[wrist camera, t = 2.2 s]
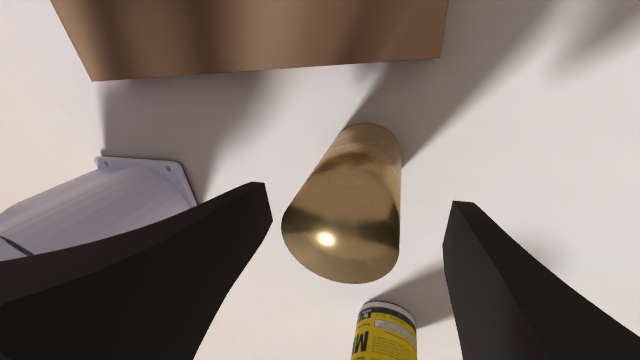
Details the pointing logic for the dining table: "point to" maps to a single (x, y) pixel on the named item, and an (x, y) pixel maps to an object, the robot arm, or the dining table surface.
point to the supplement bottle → (384, 333)
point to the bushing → (349, 208)
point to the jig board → (246, 34)
